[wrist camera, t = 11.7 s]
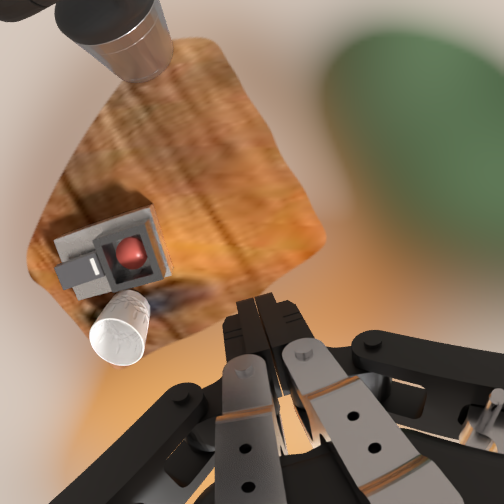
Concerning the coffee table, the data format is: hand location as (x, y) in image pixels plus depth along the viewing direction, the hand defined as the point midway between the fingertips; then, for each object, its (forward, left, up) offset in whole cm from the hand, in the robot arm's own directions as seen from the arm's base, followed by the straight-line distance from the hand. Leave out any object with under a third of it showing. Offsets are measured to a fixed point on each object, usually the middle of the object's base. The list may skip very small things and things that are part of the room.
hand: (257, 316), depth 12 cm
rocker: (+3, -22, -27) cm, 35 cm away
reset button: (+3, -14, -29) cm, 32 cm away
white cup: (+13, -19, -32) cm, 39 cm away
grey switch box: (+3, -18, -32) cm, 37 cm away
